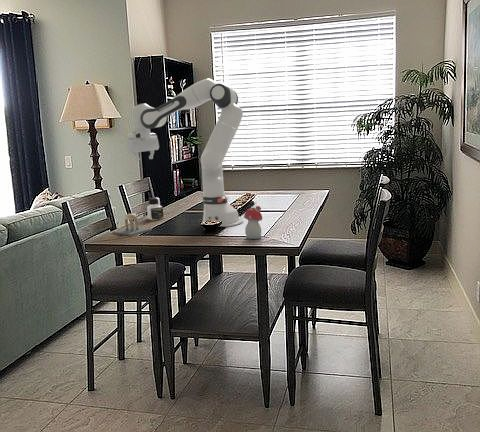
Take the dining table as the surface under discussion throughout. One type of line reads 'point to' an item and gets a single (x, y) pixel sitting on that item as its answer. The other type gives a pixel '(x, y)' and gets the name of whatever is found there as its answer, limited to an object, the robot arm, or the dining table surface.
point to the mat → (134, 232)
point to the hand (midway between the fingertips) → (144, 159)
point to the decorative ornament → (253, 223)
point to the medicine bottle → (155, 209)
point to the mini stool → (131, 221)
